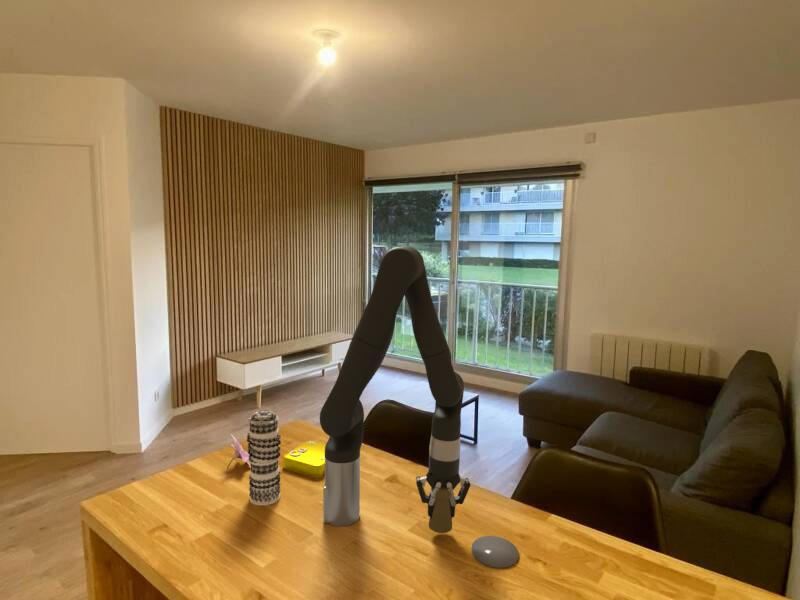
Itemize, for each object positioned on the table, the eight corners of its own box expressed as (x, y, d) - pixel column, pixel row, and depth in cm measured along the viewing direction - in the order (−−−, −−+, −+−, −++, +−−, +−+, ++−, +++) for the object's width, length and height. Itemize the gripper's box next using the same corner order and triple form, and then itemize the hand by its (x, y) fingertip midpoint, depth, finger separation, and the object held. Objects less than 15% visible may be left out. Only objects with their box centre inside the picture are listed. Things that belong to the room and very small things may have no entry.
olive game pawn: (451, 534, 116) (453, 492, 115) (426, 530, 118) (429, 489, 116) (453, 520, 122) (455, 480, 121) (430, 516, 123) (432, 477, 122)
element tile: (319, 480, 147) (319, 465, 146) (280, 469, 154) (280, 455, 153) (345, 460, 161) (345, 446, 160) (308, 450, 167) (308, 437, 166)
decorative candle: (241, 502, 134) (238, 416, 130) (262, 486, 142) (260, 405, 139) (268, 509, 130) (266, 421, 127) (288, 493, 139) (287, 410, 135)
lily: (239, 482, 146) (255, 453, 148) (207, 464, 148) (222, 435, 149) (253, 475, 158) (267, 448, 159) (223, 458, 160) (237, 432, 161)
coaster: (475, 567, 109) (475, 565, 109) (468, 537, 120) (468, 535, 119) (523, 568, 109) (523, 566, 109) (512, 538, 120) (512, 536, 120)
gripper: (416, 459, 113) (413, 525, 116) (476, 461, 114) (471, 527, 116) (415, 445, 121) (411, 508, 123) (470, 447, 121) (466, 509, 123)
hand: (440, 517), depth 120 cm, fingers closed on olive game pawn, 4 cm apart
